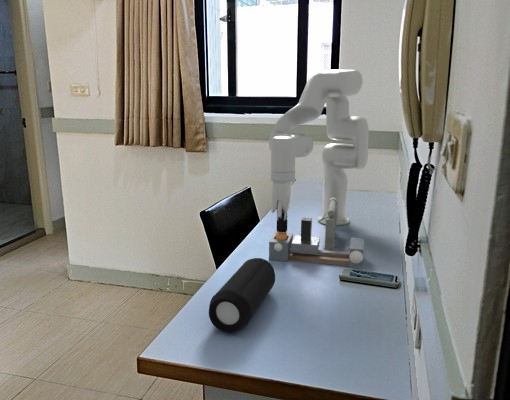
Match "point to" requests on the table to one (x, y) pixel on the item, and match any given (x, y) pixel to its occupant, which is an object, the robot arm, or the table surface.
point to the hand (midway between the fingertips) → (281, 231)
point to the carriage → (305, 239)
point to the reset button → (281, 235)
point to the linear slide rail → (282, 247)
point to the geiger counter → (330, 224)
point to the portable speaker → (241, 295)
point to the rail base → (322, 257)
